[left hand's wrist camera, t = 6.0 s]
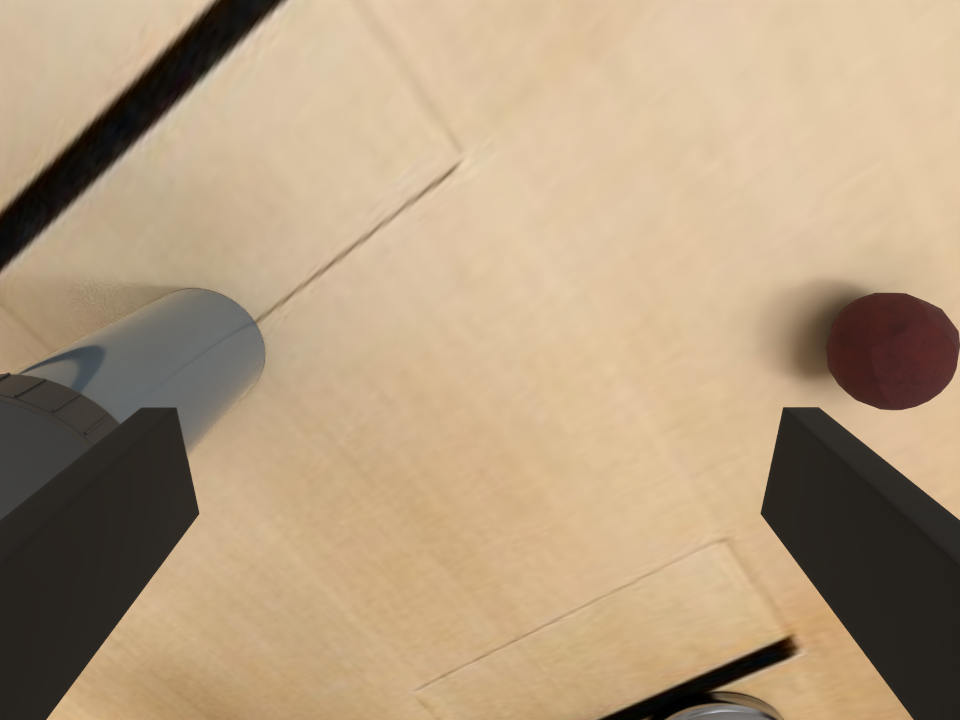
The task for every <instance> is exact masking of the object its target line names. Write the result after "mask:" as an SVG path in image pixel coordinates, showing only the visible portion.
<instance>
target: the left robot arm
mask: <svg viewBox="0 0 960 720" xmlns="http://www.w3.org/2000/svg"><path fill="white" fill-rule="evenodd" d="M198 515H199V510H198V505H197V500H196V496H195V491H194V486H193V482H192V477H191V472H190V467H189V463H188V458H187V453H186V449H185V444H184V439H183V435H182V430H181V425H180V421H179V416H178V411H177V407H141V408H140V409H139V410H137V411H136V412H135V413H134V414H132V415H131V416H130V417H129V418H127V419H126V420H125V421H124V422H122V423H121V424H120V425H119V426H117V427H116V428H115V429H114V430H112V431H111V432H110V433H109V434H107V435H106V436H105V437H104V438H102V439H101V440H100V441H99V442H97V443H96V444H95V445H94V446H92V447H91V448H90V449H89V450H87V451H86V452H85V453H84V454H82V455H81V456H80V457H79V458H77V459H76V460H75V461H74V462H72V463H71V464H70V465H69V466H67V467H66V468H65V469H64V470H62V471H61V472H60V473H59V474H57V475H56V476H55V477H54V478H52V479H51V480H50V481H49V482H47V483H46V484H45V485H44V486H42V487H41V488H40V489H39V490H37V491H36V492H35V493H34V494H32V495H31V496H30V497H29V498H27V499H26V500H25V501H24V502H22V503H21V504H20V505H19V506H17V507H16V508H15V509H14V510H12V511H11V512H10V513H9V514H7V515H6V516H5V517H4V518H2V519H1V520H0V720H46V719H47V718H48V717H49V715H50V714H51V713H52V711H53V710H54V708H55V707H56V706H57V704H58V703H59V702H60V700H61V699H62V698H63V696H64V695H65V694H66V692H67V691H68V690H69V688H70V687H71V686H72V684H73V683H74V682H75V680H76V679H77V678H78V676H79V675H80V674H81V672H82V671H83V670H84V668H85V667H86V665H87V664H88V663H89V661H90V660H91V659H92V657H93V656H94V655H95V653H96V652H97V651H98V649H99V648H100V647H101V645H102V644H103V643H104V641H105V640H106V639H107V637H108V636H109V635H110V633H111V632H112V631H113V629H114V628H115V626H116V625H117V624H118V622H119V621H120V620H121V618H122V617H123V616H124V614H125V613H126V612H127V610H128V609H129V608H130V606H131V605H132V604H133V602H134V601H135V600H136V598H137V597H138V596H139V594H140V593H141V592H142V590H143V589H144V587H145V586H146V585H147V583H148V582H149V581H150V579H151V578H152V577H153V575H154V574H155V573H156V571H157V570H158V569H159V567H160V566H161V565H162V563H163V562H164V561H165V559H166V558H167V557H168V555H169V554H170V553H171V551H172V550H173V548H174V547H175V546H176V544H177V543H178V542H179V540H180V539H181V538H182V536H183V535H184V534H185V532H186V531H187V530H188V528H189V527H190V526H191V524H192V523H193V522H194V520H195V519H196V518H197V516H198ZM761 515H762V516H763V518H764V519H765V520H766V522H767V523H768V524H769V526H770V527H771V528H772V530H773V531H774V532H775V534H776V535H777V536H778V538H779V539H780V540H781V542H782V543H783V544H784V546H785V547H786V548H787V550H788V551H789V553H790V554H791V555H792V557H793V558H794V559H795V561H796V562H797V563H798V565H799V566H800V567H801V569H802V570H803V571H804V573H805V574H806V575H807V577H808V578H809V579H810V581H811V582H812V583H813V585H814V586H815V587H816V589H817V590H818V592H819V593H820V594H821V596H822V597H823V598H824V600H825V601H826V602H827V604H828V605H829V606H830V608H831V609H832V610H833V612H834V613H835V614H836V616H837V617H838V618H839V620H840V621H841V622H842V624H843V625H844V626H845V628H846V629H847V631H848V632H849V633H850V635H851V636H852V637H853V639H854V640H855V641H856V643H857V644H858V645H859V647H860V648H861V649H862V651H863V652H864V653H865V655H866V656H867V657H868V659H869V660H870V661H871V663H872V664H873V665H874V667H875V668H876V670H877V671H878V672H879V674H880V675H881V676H882V678H883V679H884V680H885V682H886V683H887V684H888V686H889V687H890V688H891V690H892V691H893V692H894V694H895V695H896V696H897V698H898V699H899V700H900V702H901V703H902V704H903V706H904V707H905V708H906V710H907V711H908V713H909V714H910V715H911V717H912V718H913V719H914V720H960V520H959V519H958V518H956V517H955V516H954V515H953V514H951V513H950V512H949V511H948V510H946V509H945V508H944V507H943V506H941V505H940V504H939V503H938V502H936V501H935V500H934V499H933V498H931V497H930V496H929V495H928V494H926V493H925V492H924V491H923V490H921V489H920V488H919V487H918V486H916V485H915V484H914V483H913V482H911V481H910V480H909V479H908V478H906V477H905V476H904V475H903V474H901V473H900V472H899V471H898V470H896V469H895V468H894V467H893V466H891V465H890V464H889V463H888V462H886V461H885V460H884V459H883V458H881V457H880V456H879V455H878V454H876V453H875V452H874V451H873V450H871V449H870V448H869V447H868V446H866V445H865V444H864V443H863V442H861V441H860V440H859V439H858V438H856V437H855V436H854V435H853V434H851V433H850V432H849V431H848V430H846V429H845V428H844V427H843V426H841V425H840V424H839V423H838V422H836V421H835V420H834V419H833V418H831V417H830V416H829V415H828V414H826V413H825V412H824V411H823V410H821V409H820V408H819V407H783V411H782V416H781V421H780V425H779V430H778V435H777V439H776V444H775V449H774V453H773V458H772V463H771V467H770V472H769V477H768V482H767V486H766V491H765V496H764V500H763V505H762V510H761Z"/></svg>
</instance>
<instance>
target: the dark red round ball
mask: <svg viewBox="0 0 960 720" xmlns="http://www.w3.org/2000/svg"><path fill="white" fill-rule="evenodd" d="M959 349H960V341H959V333H958V330H957V329H956V327H955V326H954V325H953V323H952V322H951V321H950V319H949V318H948V317H947V315H946V314H945V313H944V311H943V310H942V309H940V308H938V307H936V306H934V305H932V304H930V303H928V302H926V301H924V300H921V299H918V298H916V297H913V296H911V295H908V294H904V293H874V294H871V295H868V296H865V297H862V298H859V299H857V300H855V301H853V302H852V303H851V304H849V305H848V306H847V307H846V308H844V309H843V310H842V311H841V312H840V314H839V315H838V317H837V318H836V320H835V321H834V323H833V325H832V329H831V332H830V335H829V339H828V343H827V347H826V350H827V364H828V367H829V370H830V372H831V374H832V375H833V377H834V378H835V380H836V381H837V383H838V384H839V385H840V386H841V387H842V388H843V389H844V390H845V391H846V392H847V393H848V394H849V395H851V396H852V397H853V398H854V399H855V400H857V401H860V402H863V403H865V404H868V405H871V406H873V407H876V408H878V409H884V410H903V409H908V408H912V407H916V406H918V405H921V404H923V403H925V402H928V401H929V400H931V399H932V398H934V397H935V396H937V395H938V394H939V393H941V392H942V391H943V389H944V388H945V387H946V386H947V385H948V384H949V382H950V381H951V380H952V378H953V375H954V373H955V371H956V368H957V361H958V355H959Z"/></svg>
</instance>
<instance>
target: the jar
mask: <svg viewBox="0 0 960 720" xmlns="http://www.w3.org/2000/svg"><path fill="white" fill-rule="evenodd" d="M264 363H265V347H264V342H263V338H262V335H261V333H260V330H259V329H258V327H257V325H256V323H255V322H254V320H253V319H252V318H251V316H250V315H249V314H248V313H247V312H246V311H245V310H244V309H243V308H242V307H241V306H240V305H238V304H237V303H236V302H234V301H233V300H231V299H229V298H228V297H226V296H224V295H221V294H219V293H217V292H213V291H210V290H204V289H192V288H191V289H182V290H178V291H175V292H172V293H170V294H167V295H165V296H163V297H161V298H159V299H158V300H156V301H154V302H152V303H150V304H148V305H146V306H144V307H142V308H140V309H138V310H136V311H134V312H132V313H130V314H128V315H126V316H124V317H122V318H120V319H118V320H116V321H114V322H112V323H110V324H108V325H106V326H104V327H102V328H100V329H98V330H96V331H94V332H92V333H90V334H88V335H86V336H84V337H82V338H80V339H78V340H76V341H74V342H72V343H71V344H69V345H67V346H65V347H63V348H61V349H59V350H57V351H55V352H53V353H51V354H49V355H47V356H45V357H43V358H41V359H39V360H37V361H35V362H33V363H31V364H29V365H27V366H25V367H23V368H21V369H19V370H17V371H15V372H13V373H11V374H19V375H27V376H34V377H39V378H42V379H43V378H45V379H46V380H50V381H53V382H56V383H59V384H61V385H64V386H67V387H69V388H71V389H73V390H75V391H77V392H79V393H81V394H83V395H84V396H86V397H87V398H89V399H91V400H92V401H94V402H95V403H97V404H98V405H99V406H101V407H102V408H103V409H105V410H106V411H107V412H108V413H109V414H111V415H112V417H114V418H115V419H116V420H117V421H118V422H119V423H120V424H121V423H122V422H124V421H125V420H126V419H127V418H129V417H130V416H131V415H132V414H134V413H135V412H136V411H137V410H139V409H140V408H141V407H177V411H178V416H179V421H180V425H181V430H182V435H183V439H184V444H185V449H186V453H187V458H189V456H190V455H191V454H192V453H193V452H194V451H195V450H196V449H197V448H198V447H199V445H200V444H201V443H202V442H203V441H204V440H205V439H206V438H207V437H208V436H209V434H210V433H211V432H212V431H213V430H214V429H215V428H216V427H217V426H218V425H219V423H220V422H221V421H222V420H223V419H224V418H225V417H226V416H227V415H228V413H229V412H230V411H231V410H232V409H233V408H234V407H235V406H236V405H237V404H238V402H239V401H240V400H241V399H242V398H243V397H244V396H245V395H246V394H247V393H248V391H249V390H250V389H251V388H252V387H253V386H254V385H255V383H256V382H257V381H258V379H259V377H260V375H261V373H262V371H263V368H264Z"/></svg>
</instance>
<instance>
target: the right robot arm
mask: <svg viewBox="0 0 960 720" xmlns="http://www.w3.org/2000/svg"><path fill="white" fill-rule="evenodd" d="M650 720H784V719H783V718H782V716H781V715H780V714H779V713H778V712H777V711H776V710H775V709H774V708H772V707H771V706H769V705H768V704H766V703H764V702H762V701H760V700H758V699H755V698H752V697H748V696H745V695H739V694H731V693H714V694H705V695H700V696H695V697H691V698H688V699H685V700H682V701H679V702H677V703H675V704H673V705H671V706H669V707H667V708H665V709H663V710H662V711H660V712H659V713H658V714H656V715H655V716H654V717H653V718H651V719H650Z"/></svg>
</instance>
